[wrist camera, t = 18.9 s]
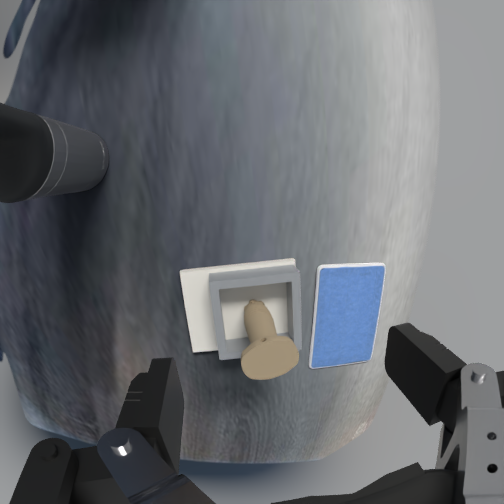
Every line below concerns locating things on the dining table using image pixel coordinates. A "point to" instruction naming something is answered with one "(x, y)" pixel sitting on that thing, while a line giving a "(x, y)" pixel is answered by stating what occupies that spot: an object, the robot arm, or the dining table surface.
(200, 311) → the open box
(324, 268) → the tablet computer
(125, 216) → the dining table surface
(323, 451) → the dining table surface
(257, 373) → the handle
